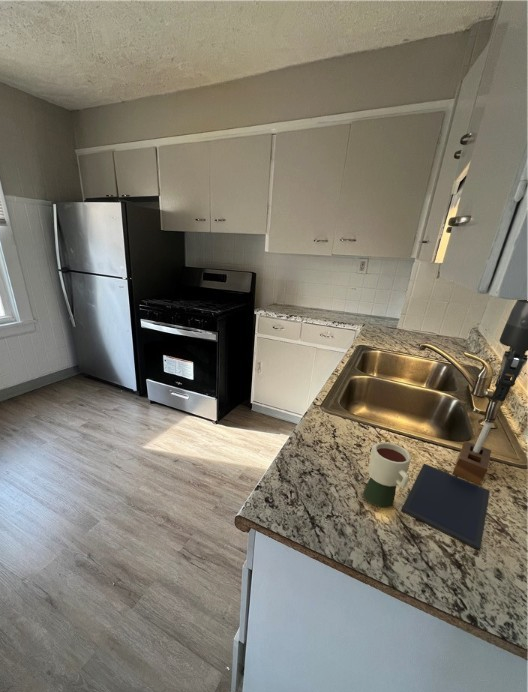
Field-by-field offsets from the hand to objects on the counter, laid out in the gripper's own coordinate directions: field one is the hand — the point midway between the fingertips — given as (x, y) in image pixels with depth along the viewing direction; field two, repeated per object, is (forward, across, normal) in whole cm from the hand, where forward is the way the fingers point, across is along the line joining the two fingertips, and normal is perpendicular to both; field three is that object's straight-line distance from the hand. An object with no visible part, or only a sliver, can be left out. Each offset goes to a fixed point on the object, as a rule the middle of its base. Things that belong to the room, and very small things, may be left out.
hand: (498, 393), depth 72 cm
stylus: (+22, +1, 0) cm, 22 cm away
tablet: (+21, -17, +2) cm, 28 cm away
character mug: (+22, -27, +14) cm, 37 cm away
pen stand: (+22, -1, 0) cm, 22 cm away
